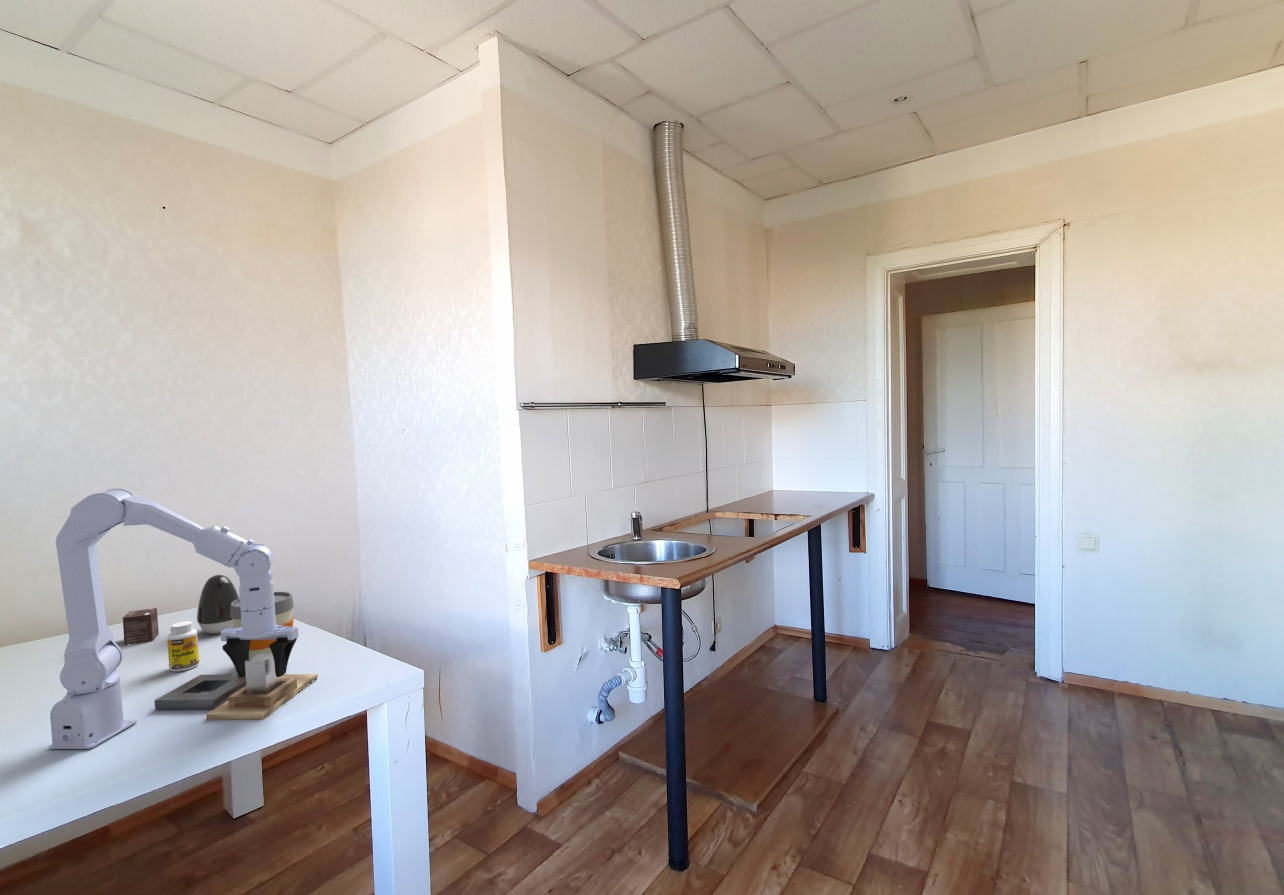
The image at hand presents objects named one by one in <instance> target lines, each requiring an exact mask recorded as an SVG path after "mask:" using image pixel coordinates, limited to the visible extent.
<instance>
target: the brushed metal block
mask: <svg viewBox="0 0 1284 895" xmlns="http://www.w3.org/2000/svg"><path fill="white" fill-rule="evenodd" d="M245 670H246V684H247V694H269V693H270V692H272V691H273V690H275V689H276V688H277V687H279V686H280V679H279V677H276V674H275V664H274V658H273V654H272V653H269V654H257V655H255V656H254V657H252V658H250V659H248V660H247V661H245Z"/></svg>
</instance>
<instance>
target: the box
mask: <svg viewBox="0 0 1284 895" xmlns="http://www.w3.org/2000/svg"><path fill="white" fill-rule="evenodd" d="M158 619H159V618H158V608H157V607H153V608H148V609H147V608H146V609H140V610H132V611H128V612H127V613H126V614H125V615H124V616H123V617H122V628H123V642H124V643H123V644H124V646H129V645H128V644H132V645H135V644H134V643H137V644H142V642H145V643H151V642H153V641H154V640H155V639H156V637H158V635H159V633H160V632H159V620H158Z"/></svg>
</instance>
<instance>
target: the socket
mask: <svg viewBox="0 0 1284 895" xmlns="http://www.w3.org/2000/svg"><path fill="white" fill-rule="evenodd" d="M246 685H247V684H246V675H245V676H244V677H242V678H239V676H238V674H237V673H234V674H233V673H229V674H219V673H217V674H199V675H198V676H196V677H194V678H192V679H190V680H188V681H186V682H185V683H183V684H181V685H179V686H178V687H176V688H173V689H172V690H171V691H168V692H167V693H165V694H163V695H161V696H160V697H157V698H156V699H154V710H155V711H205V710H206V711H208V710H211V711H212V710H214V709H215V708H217V707H218V706H220V705H222V704H223V703H225V702H226V701H228V697H229V696H230V695H232V694H233V693H235V692H237V691H238V690H240V689H241V688H243V687H244V686H246ZM204 691H211V692H204Z"/></svg>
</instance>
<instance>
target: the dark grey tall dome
mask: <svg viewBox="0 0 1284 895" xmlns="http://www.w3.org/2000/svg"><path fill="white" fill-rule="evenodd" d="M237 599H240V595H239V594H238V592H237V588H236V587H235V585H234V582H232V581H231V580H230V578H229V577H227V576H226V575H224V574H216V575H213V576H211V577H209V578H208V579H207V580H206V582H205V583H204V586H203V587H202V590H201V593H200V597H199V601H198V604H197V605H198V607H197V613H196V622H197V623H198V625H199V627H200V629H201V630H202V632H203V631H204V632H205V633H207V634H211V635H216V634H217V635H218V634H221V631H223V630H225V629H228V628H233V627H234V624H233V619H232V618H231V617H230V612H231V603H232V602H233V601H235V600H237Z"/></svg>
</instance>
